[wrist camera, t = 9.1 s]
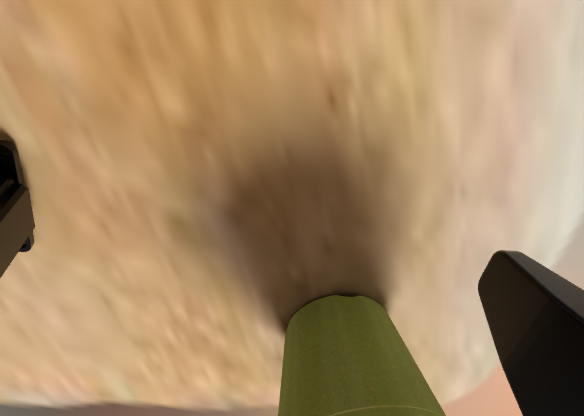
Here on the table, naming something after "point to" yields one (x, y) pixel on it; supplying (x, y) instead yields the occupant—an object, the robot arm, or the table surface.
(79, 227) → the table surface
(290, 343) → the plant pot
